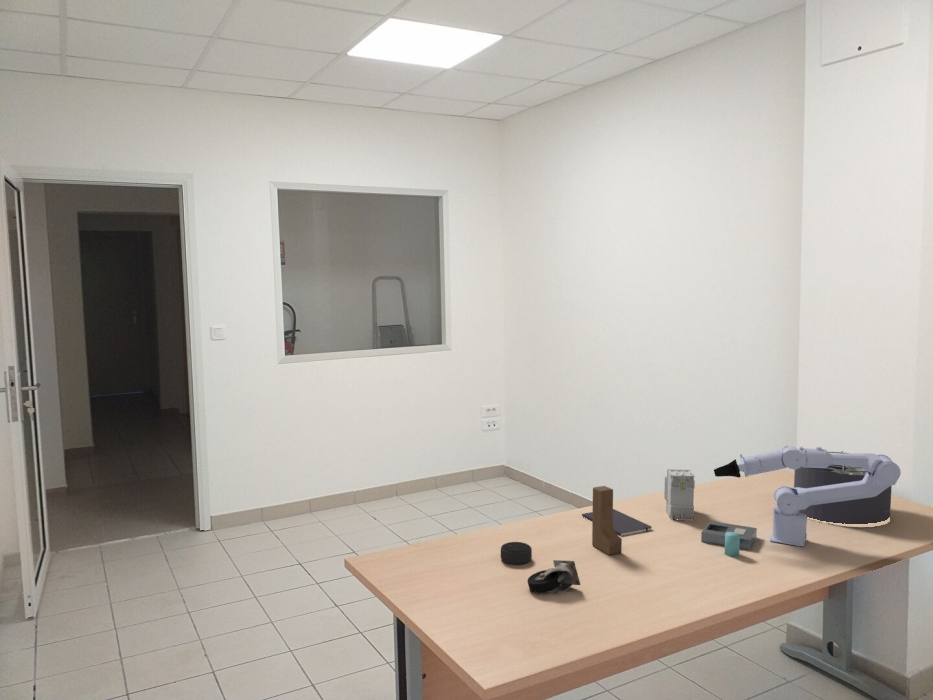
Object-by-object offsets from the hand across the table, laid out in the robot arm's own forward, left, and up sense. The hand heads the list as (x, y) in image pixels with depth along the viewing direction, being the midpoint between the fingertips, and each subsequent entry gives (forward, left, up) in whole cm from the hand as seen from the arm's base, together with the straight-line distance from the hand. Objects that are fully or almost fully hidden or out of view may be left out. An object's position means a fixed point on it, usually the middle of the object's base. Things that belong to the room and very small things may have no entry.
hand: (714, 472), depth 229 cm
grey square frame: (-5, +3, -19) cm, 20 cm away
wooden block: (+25, +29, -20) cm, 43 cm away
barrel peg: (-8, +15, -20) cm, 26 cm away
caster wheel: (+28, +63, -20) cm, 72 cm away
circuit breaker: (+15, -15, -20) cm, 29 cm away
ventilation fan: (-33, -42, -20) cm, 57 cm away
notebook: (+30, +5, -20) cm, 36 cm away
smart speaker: (+45, +49, -20) cm, 69 cm away
